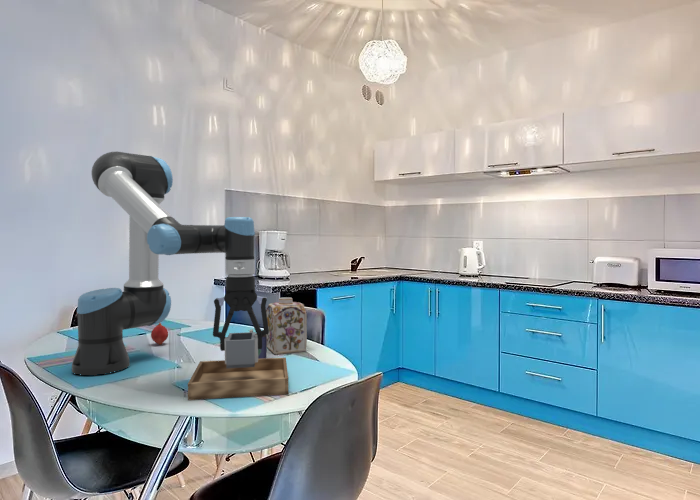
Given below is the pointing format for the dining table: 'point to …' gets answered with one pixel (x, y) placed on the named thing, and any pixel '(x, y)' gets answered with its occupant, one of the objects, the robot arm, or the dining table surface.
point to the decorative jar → (286, 326)
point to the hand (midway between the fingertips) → (241, 361)
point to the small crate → (240, 350)
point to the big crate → (238, 380)
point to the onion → (159, 334)
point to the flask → (262, 352)
